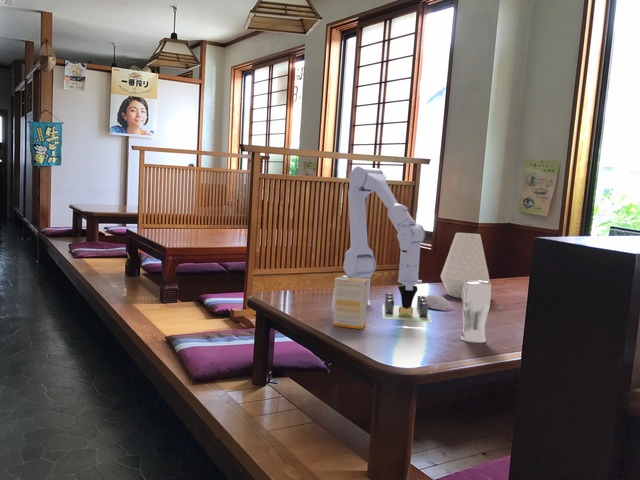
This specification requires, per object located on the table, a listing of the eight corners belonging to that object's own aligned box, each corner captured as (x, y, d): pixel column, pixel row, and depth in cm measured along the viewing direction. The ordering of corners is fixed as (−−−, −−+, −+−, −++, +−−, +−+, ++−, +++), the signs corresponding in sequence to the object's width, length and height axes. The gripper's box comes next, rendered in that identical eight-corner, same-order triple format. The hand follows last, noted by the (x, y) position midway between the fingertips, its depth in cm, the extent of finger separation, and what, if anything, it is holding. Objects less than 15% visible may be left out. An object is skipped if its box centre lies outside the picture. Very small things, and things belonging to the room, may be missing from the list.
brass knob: (398, 316, 160) (399, 308, 160) (398, 313, 164) (399, 305, 164) (412, 318, 160) (412, 309, 159) (412, 315, 164) (413, 306, 163)
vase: (493, 296, 206) (498, 234, 204) (480, 302, 192) (485, 237, 190) (448, 289, 216) (452, 231, 214) (432, 295, 201) (436, 232, 199)
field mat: (382, 320, 157) (382, 318, 157) (382, 306, 177) (382, 304, 177) (432, 324, 156) (432, 322, 156) (426, 309, 175) (426, 307, 175)
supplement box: (366, 325, 150) (369, 278, 149) (361, 329, 146) (364, 280, 144) (337, 322, 153) (339, 275, 152) (331, 325, 148) (334, 277, 147)
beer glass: (455, 336, 144) (459, 279, 143) (481, 336, 145) (485, 280, 143) (464, 343, 137) (469, 284, 136) (491, 344, 138) (496, 285, 136)
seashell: (421, 294, 183) (452, 291, 181) (422, 310, 183) (453, 308, 181) (420, 297, 173) (453, 295, 171) (422, 314, 173) (454, 312, 171)
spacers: (385, 314, 162) (386, 301, 162) (384, 305, 176) (385, 292, 176) (427, 317, 161) (428, 304, 161) (423, 307, 175) (424, 295, 175)
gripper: (424, 269, 156) (421, 316, 157) (420, 262, 170) (418, 306, 172) (399, 267, 157) (396, 314, 158) (397, 261, 171) (395, 304, 172)
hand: (406, 310), depth 165 cm, fingers closed
